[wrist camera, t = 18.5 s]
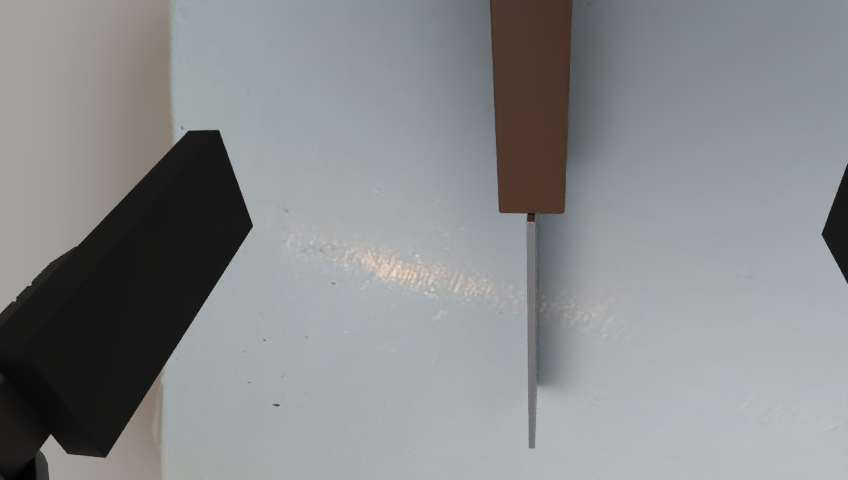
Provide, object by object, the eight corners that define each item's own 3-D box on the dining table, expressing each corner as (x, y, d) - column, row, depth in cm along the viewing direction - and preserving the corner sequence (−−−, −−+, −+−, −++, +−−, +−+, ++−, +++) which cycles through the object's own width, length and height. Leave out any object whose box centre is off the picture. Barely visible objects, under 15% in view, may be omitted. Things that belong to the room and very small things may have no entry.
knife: (496, -105, 19) (484, -80, 16) (573, -113, 19) (575, -88, 16) (512, 383, 34) (507, 446, 31) (556, 386, 33) (556, 450, 30)
